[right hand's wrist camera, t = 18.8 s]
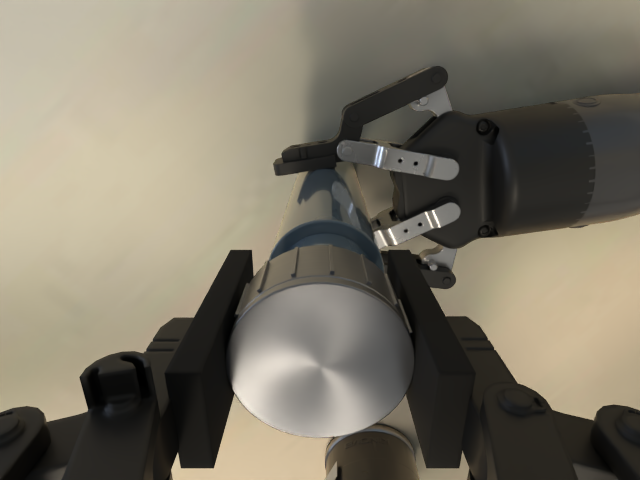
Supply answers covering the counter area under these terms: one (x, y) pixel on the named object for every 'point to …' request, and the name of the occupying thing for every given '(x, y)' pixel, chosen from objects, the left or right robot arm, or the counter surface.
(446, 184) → the left robot arm
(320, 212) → the bottle
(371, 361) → the lid
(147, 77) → the counter surface
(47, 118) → the counter surface
